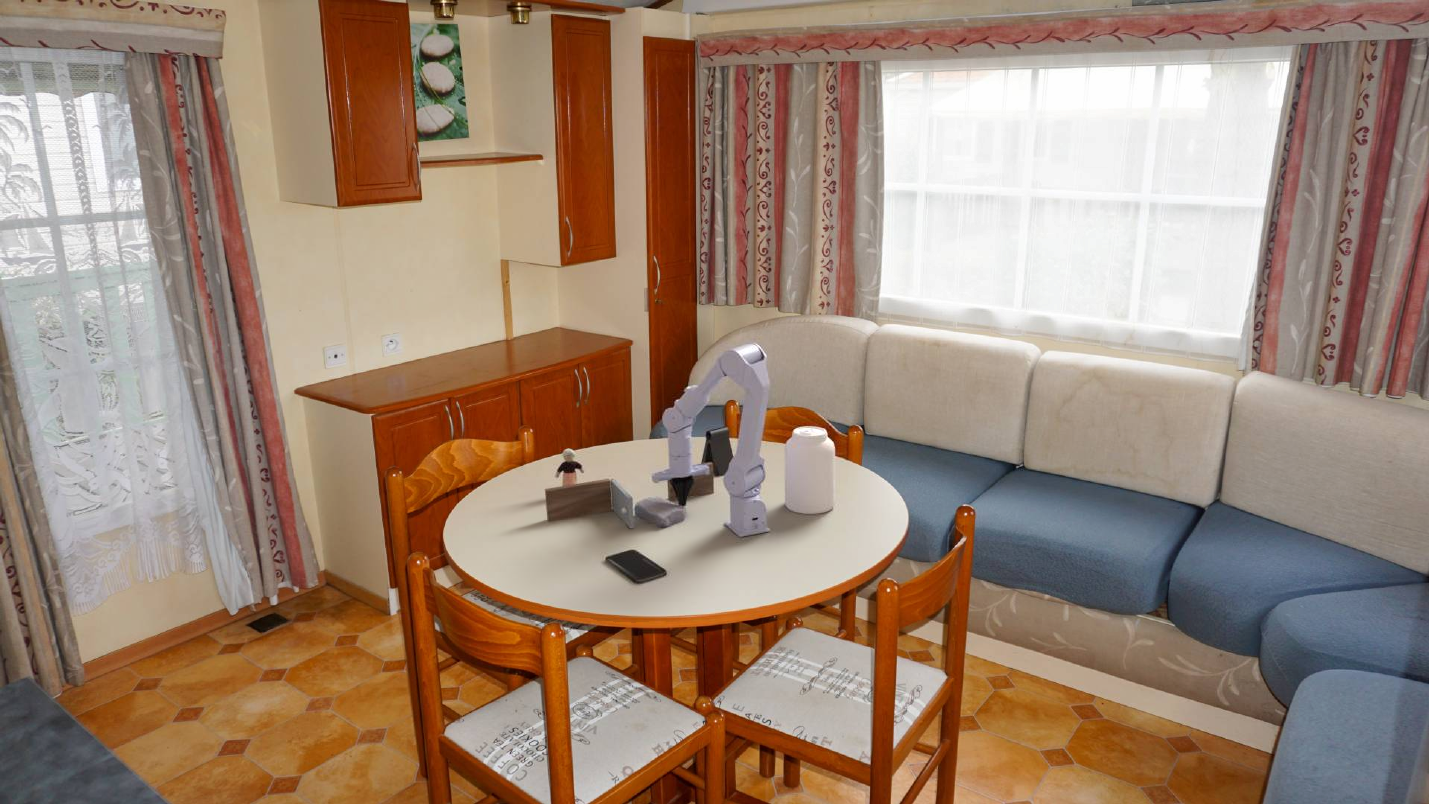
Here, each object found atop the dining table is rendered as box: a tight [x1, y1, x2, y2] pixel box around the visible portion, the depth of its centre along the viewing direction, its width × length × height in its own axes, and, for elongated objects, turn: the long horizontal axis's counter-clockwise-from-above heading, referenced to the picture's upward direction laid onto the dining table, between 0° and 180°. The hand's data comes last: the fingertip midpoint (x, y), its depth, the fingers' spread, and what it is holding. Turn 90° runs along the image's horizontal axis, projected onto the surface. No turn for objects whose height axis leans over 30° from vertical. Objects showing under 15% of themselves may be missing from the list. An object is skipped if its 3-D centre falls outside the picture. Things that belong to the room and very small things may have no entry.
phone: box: [604, 549, 668, 585], centre depth 215 cm, size 8×1×15 cm
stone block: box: [633, 496, 687, 528], centre depth 242 cm, size 12×5×10 cm
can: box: [784, 425, 836, 515], centre depth 245 cm, size 12×12×20 cm
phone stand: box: [700, 426, 734, 477], centre depth 273 cm, size 9×6×12 cm, turn 36°
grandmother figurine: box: [554, 448, 585, 486], centre depth 258 cm, size 8×4×13 cm, turn 123°
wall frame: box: [544, 462, 715, 522], centre depth 249 cm, size 2×44×8 cm, turn 113°
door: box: [610, 478, 635, 529], centre depth 241 cm, size 15×2×8 cm, turn 23°
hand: (682, 505), depth 246 cm, fingers closed
